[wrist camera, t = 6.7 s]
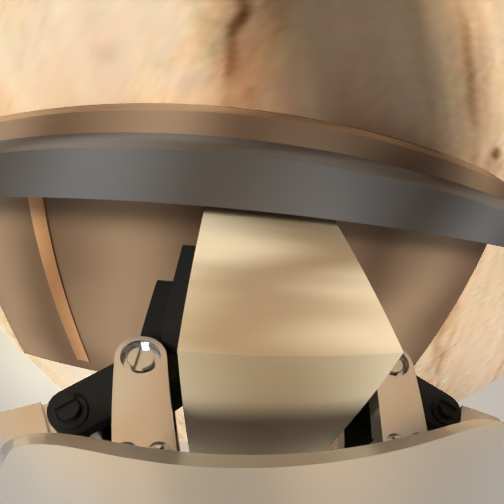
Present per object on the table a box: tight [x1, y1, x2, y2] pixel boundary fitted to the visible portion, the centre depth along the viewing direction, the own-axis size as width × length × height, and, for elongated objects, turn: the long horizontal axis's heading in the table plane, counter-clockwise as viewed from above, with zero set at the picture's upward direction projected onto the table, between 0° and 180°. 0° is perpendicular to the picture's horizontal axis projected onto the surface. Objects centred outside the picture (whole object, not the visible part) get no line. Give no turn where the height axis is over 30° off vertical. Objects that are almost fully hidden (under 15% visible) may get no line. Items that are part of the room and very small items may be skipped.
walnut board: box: [0, 103, 504, 371], centre depth 12 cm, size 25×14×4 cm, turn 83°
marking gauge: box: [177, 206, 403, 455], centre depth 10 cm, size 4×10×6 cm, turn 173°
